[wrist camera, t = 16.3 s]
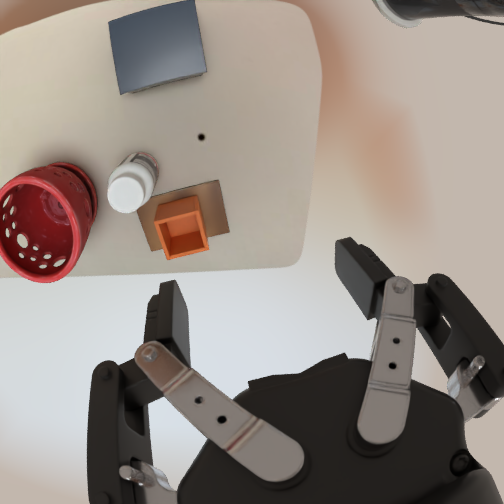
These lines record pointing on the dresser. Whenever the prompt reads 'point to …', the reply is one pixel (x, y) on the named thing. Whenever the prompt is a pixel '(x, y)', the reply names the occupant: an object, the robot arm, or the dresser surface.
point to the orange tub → (181, 227)
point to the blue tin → (157, 46)
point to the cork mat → (206, 195)
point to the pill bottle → (132, 182)
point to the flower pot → (47, 220)
